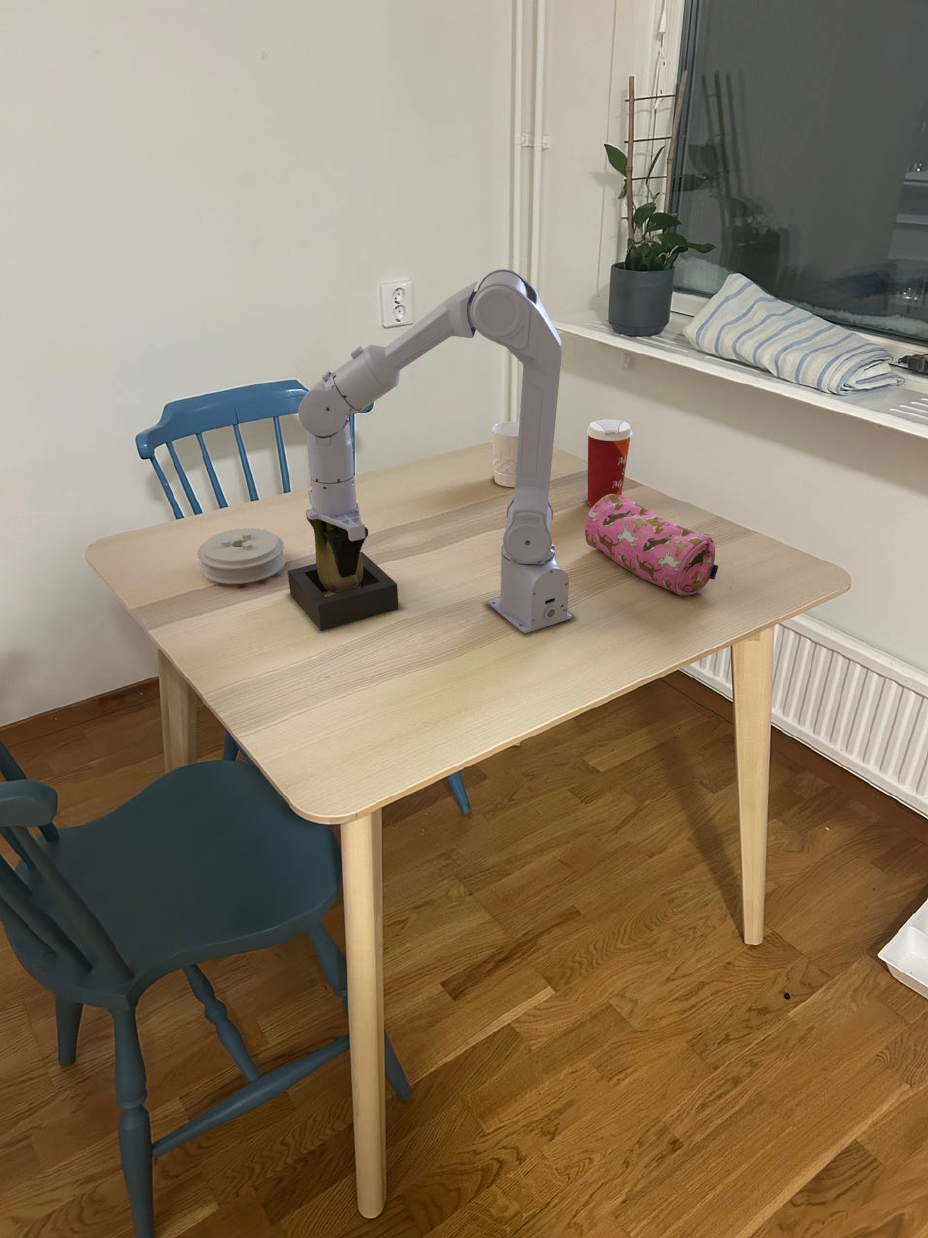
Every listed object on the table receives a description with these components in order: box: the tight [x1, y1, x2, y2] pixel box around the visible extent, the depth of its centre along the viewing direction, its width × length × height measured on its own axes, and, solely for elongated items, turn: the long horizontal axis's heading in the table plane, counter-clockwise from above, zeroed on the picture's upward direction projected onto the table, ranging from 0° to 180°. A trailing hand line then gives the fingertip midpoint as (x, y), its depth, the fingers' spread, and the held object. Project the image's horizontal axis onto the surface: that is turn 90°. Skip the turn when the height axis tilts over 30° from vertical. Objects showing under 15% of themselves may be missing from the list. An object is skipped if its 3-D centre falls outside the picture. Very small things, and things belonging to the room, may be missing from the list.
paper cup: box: [585, 418, 633, 508], centre depth 151 cm, size 8×8×14 cm
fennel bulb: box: [312, 519, 363, 594], centre depth 122 cm, size 6×5×12 cm
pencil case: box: [584, 494, 719, 597], centre depth 131 cm, size 21×9×9 cm, turn 34°
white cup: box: [491, 421, 519, 488], centre depth 162 cm, size 8×8×10 cm
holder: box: [287, 551, 399, 632], centre depth 125 cm, size 12×12×4 cm
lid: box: [196, 527, 287, 585], centre depth 133 cm, size 13×13×5 cm
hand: (340, 568), depth 123 cm, fingers closed on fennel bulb, 4 cm apart
